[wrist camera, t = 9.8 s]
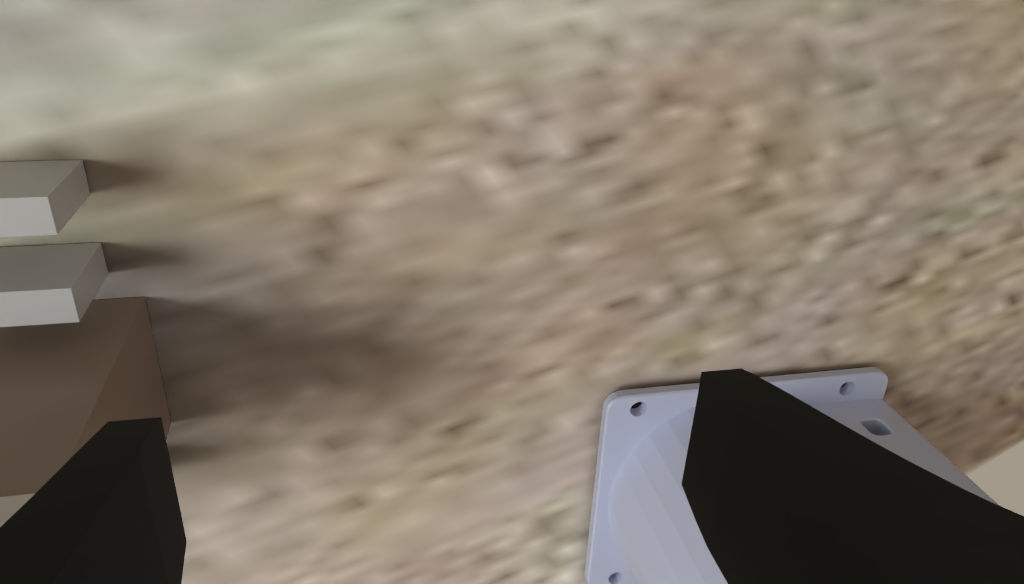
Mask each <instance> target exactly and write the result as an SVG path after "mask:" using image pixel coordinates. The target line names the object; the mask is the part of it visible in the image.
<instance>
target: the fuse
mask: <svg viewBox="0 0 1024 584" xmlns="http://www.w3.org/2000/svg"><path fill="white" fill-rule="evenodd" d="M157 417H161V418H162V423H163V428H164V433H165V438H167V434H168V431H169V428H170V424H171V420H170V415H169V410H168V405H167V401H166V396H165V391H164V386H163V381H162V376H161V372H160V367H159V362H158V357H157V352H156V347H155V343H154V338H153V333H152V328H151V323H150V318H149V314H148V309H147V304H146V299H145V297H133V298H116V299H99V300H92V302H91V303H90V305H89V307H88V308H87V310H86V312H85V313H84V315H83V317H82V319H81V320H80V322H73V323H58V324H42V325H27V326H11V327H0V527H1V526H2V525H3V524H4V523H5V522H6V521H7V520H8V519H9V518H10V517H11V516H12V515H14V514H15V513H16V512H17V511H18V510H19V509H20V508H21V507H22V506H23V505H24V504H25V503H26V502H27V501H28V500H29V499H30V498H31V497H32V496H33V495H34V494H35V493H36V492H37V491H38V490H39V489H40V488H41V487H42V486H43V485H44V484H45V483H46V482H47V481H48V480H49V479H50V478H51V477H52V476H53V475H54V474H55V473H56V472H57V471H58V470H59V469H60V468H61V467H62V466H63V465H64V464H65V463H66V462H67V461H68V460H69V459H70V458H71V457H72V456H73V455H74V454H75V453H76V452H77V451H78V450H79V449H80V448H81V447H82V446H83V445H84V444H85V443H86V442H87V441H88V440H89V439H91V438H92V437H93V436H94V435H95V434H96V433H97V432H98V431H99V430H100V429H101V428H102V427H103V426H104V425H105V424H106V423H107V422H109V421H121V420H133V419H145V418H157Z"/></svg>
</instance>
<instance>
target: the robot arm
mask: <svg viewBox="0 0 1024 584" xmlns="http://www.w3.org/2000/svg"><path fill="white" fill-rule="evenodd" d="M844 383H846V384H845V385H844V386H843V387H841V386H842V385H843V384H844ZM887 384H888V377H887V375H886V374H885V373H884V372H883V371H882V370H880V369H879V368H877V367H864V368H854V369H843V370H832V371H822V372H811V373H800V374H789V375H779V376H768V377H758V376H756V375H754V374H752V373H749V372H747V371H745V370H743V369H732V370H720V371H708V372H702V374H701V380H700V383H693V384H682V385H671V386H661V387H650V388H639V389H628V390H620V391H616V392H613V393H612V394H610V395H609V396H608V397H607V398H606V399H605V401H604V404H603V411H602V420H601V429H600V438H599V447H598V456H597V465H596V474H595V484H594V493H593V502H592V511H591V520H590V529H589V538H588V547H587V557H586V566H585V579H586V582H587V584H1024V516H1021V515H1019V514H1017V513H1014V512H1012V511H1010V510H1007V509H1005V508H1003V507H1001V506H999V505H998V504H997V503H996V502H995V501H993V500H992V499H991V498H990V497H989V496H988V495H987V494H986V493H985V492H984V491H983V490H981V489H980V488H979V487H978V486H977V485H976V484H975V483H974V482H973V481H972V480H970V479H969V478H968V477H967V476H966V475H965V474H964V473H963V472H962V471H961V470H960V469H958V468H957V467H956V466H955V465H954V464H953V463H952V462H951V461H950V460H949V459H947V458H946V457H945V456H944V455H943V454H942V453H941V452H940V451H939V450H938V449H937V448H935V447H934V446H933V445H932V444H931V443H930V442H929V441H928V440H927V439H926V438H924V437H923V436H922V435H921V434H920V433H919V432H918V431H917V430H916V429H915V428H913V427H912V426H911V425H910V424H909V423H908V422H907V421H906V420H905V419H904V418H902V417H901V416H900V415H899V414H898V413H897V412H896V411H895V410H894V409H893V408H892V407H890V406H889V405H888V404H887V403H886V402H885V401H884V400H883V397H884V394H885V391H886V388H887ZM637 402H642V403H641V405H640V406H638V407H637V408H634V409H631V407H632V406H633V405H634V404H635V403H637ZM185 548H186V537H185V532H184V527H183V522H182V517H181V512H180V507H179V502H178V497H177V492H176V487H175V483H174V478H173V473H172V468H171V463H170V458H169V453H168V448H167V443H166V438H165V433H164V428H163V423H162V418H161V417H157V418H145V419H133V420H121V421H109V422H107V423H106V424H105V425H104V426H103V427H102V428H101V429H100V430H99V431H98V432H97V433H96V434H95V435H94V436H93V437H92V438H91V439H89V440H88V441H87V442H86V443H85V444H84V445H83V446H82V447H81V448H80V449H79V450H78V451H77V452H76V453H75V454H74V455H73V456H72V457H71V458H70V459H69V460H68V461H67V462H66V463H65V464H64V465H63V466H62V467H61V468H60V469H59V470H58V471H57V472H56V473H55V474H54V475H53V476H52V477H51V478H50V479H49V480H48V481H47V482H46V483H45V484H44V485H43V486H42V487H41V488H40V489H39V490H38V491H37V492H36V493H35V494H34V495H33V496H32V497H31V498H30V499H29V500H28V501H27V502H26V503H25V504H24V505H23V506H22V507H21V508H20V509H19V510H18V511H17V512H16V513H15V514H14V515H12V516H11V517H10V518H9V519H8V520H7V521H6V522H5V523H4V524H3V525H2V526H1V527H0V584H181V580H182V572H183V564H184V556H185ZM613 573H615V574H613Z"/></svg>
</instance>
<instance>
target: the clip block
mask: <svg viewBox="0 0 1024 584" xmlns="http://www.w3.org/2000/svg"><path fill="white" fill-rule="evenodd" d="M89 195H90V191H89V187H88V183H87V178H86V174H85V169H84V165H83V161H82V160H54V161H15V162H0V237H16V236H39V235H57V234H58V233H59V232H60V231H61V229H62V228H63V227H64V226H65V224H66V223H67V222H68V221H69V220H70V218H71V217H72V216H73V215H74V213H75V212H76V211H77V210H78V208H79V207H80V206H81V205H82V203H83V202H84V201H85V200H86V198H87V197H88V196H89ZM107 274H108V271H107V267H106V262H105V258H104V253H103V249H102V244H101V243H81V244H59V245H37V246H15V247H0V327H11V326H27V325H42V324H58V323H73V322H80V320H81V319H82V317H83V315H84V313H85V312H86V310H87V308H88V307H89V305H90V303H91V302H92V300H93V298H94V296H95V295H96V293H97V291H98V290H99V288H100V286H101V284H102V283H103V281H104V279H105V278H106V276H107Z"/></svg>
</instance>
